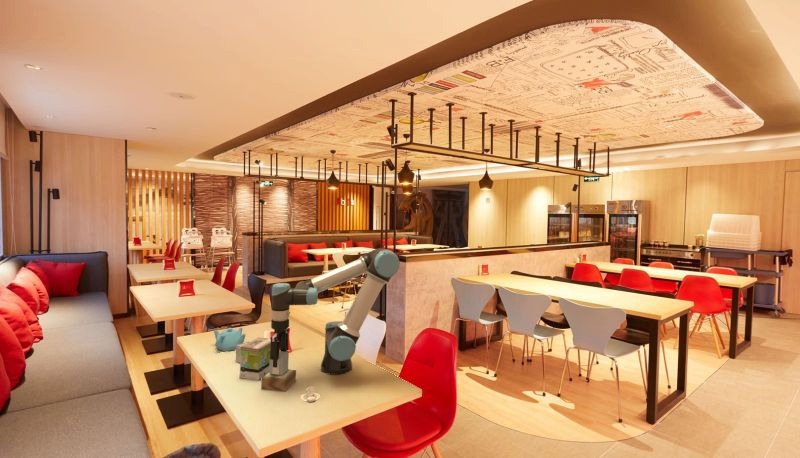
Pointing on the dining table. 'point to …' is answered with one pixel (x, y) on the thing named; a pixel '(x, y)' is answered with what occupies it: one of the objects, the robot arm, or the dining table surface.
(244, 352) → the tea box
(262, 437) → the dining table surface
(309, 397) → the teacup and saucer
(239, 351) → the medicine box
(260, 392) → the dining table surface
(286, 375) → the plinth
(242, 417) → the dining table surface
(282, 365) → the block
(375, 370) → the dining table surface
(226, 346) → the teapot
